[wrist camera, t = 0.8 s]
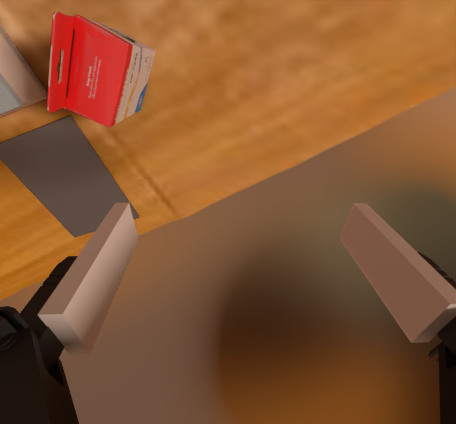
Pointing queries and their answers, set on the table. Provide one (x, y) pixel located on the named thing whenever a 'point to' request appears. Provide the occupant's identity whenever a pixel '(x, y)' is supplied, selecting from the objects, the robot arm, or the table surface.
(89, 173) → the mat
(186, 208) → the table surface
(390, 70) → the table surface
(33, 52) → the table surface
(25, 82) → the tub
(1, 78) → the lid
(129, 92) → the ink box
